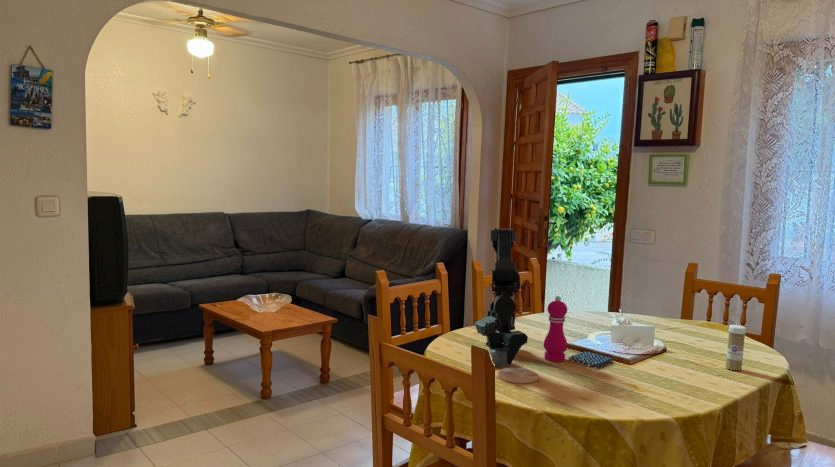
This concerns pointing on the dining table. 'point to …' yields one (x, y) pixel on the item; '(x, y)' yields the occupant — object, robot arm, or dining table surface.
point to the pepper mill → (556, 332)
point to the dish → (629, 334)
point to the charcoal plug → (499, 357)
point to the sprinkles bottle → (735, 347)
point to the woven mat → (590, 360)
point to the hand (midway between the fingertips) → (500, 359)
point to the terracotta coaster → (518, 375)
